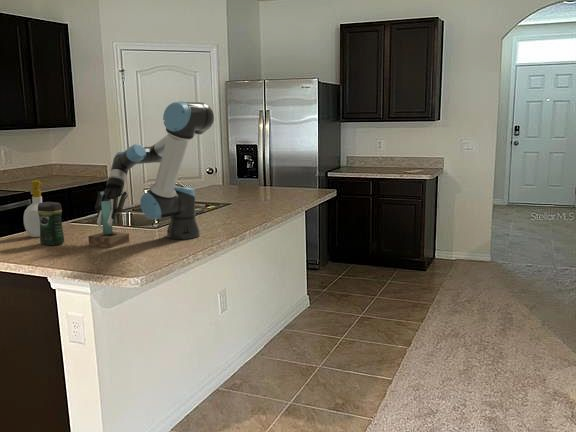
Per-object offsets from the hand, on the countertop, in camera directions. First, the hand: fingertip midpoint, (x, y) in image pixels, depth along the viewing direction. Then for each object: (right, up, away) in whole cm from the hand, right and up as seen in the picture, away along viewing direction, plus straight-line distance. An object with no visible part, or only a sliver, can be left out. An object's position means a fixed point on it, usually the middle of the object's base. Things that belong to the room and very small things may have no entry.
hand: (103, 224), depth 242 cm
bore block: (+1, -8, +5) cm, 10 cm away
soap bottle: (-37, -6, +22) cm, 43 cm away
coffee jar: (-24, -9, +5) cm, 26 cm away
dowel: (0, -4, +5) cm, 6 cm away
